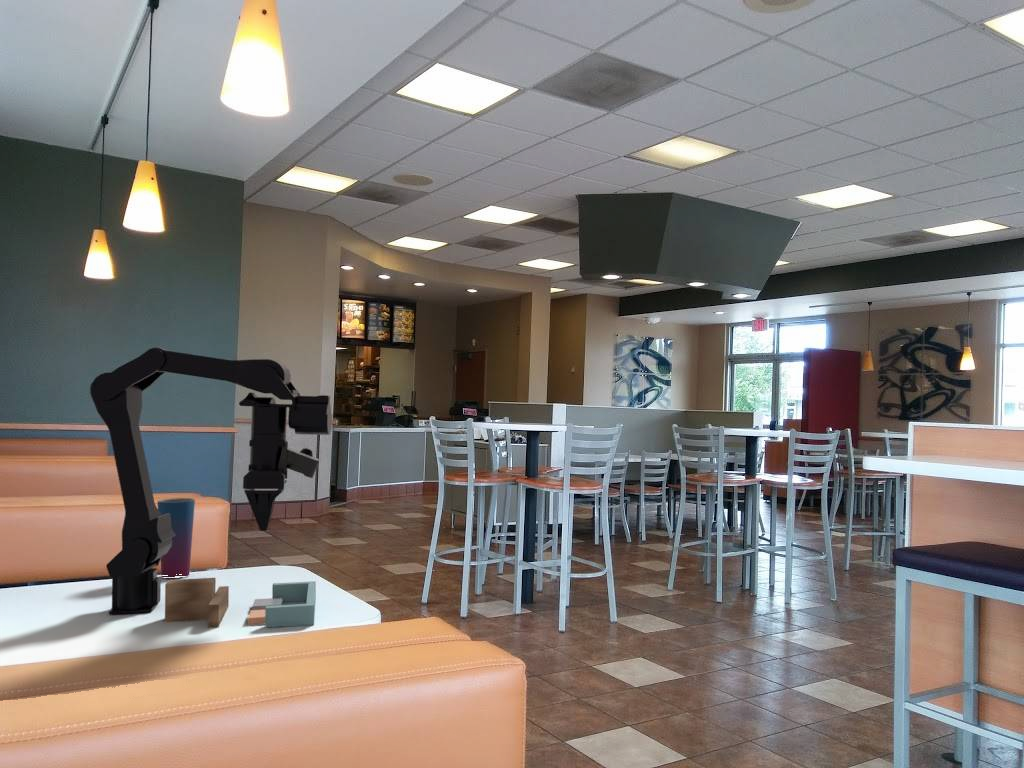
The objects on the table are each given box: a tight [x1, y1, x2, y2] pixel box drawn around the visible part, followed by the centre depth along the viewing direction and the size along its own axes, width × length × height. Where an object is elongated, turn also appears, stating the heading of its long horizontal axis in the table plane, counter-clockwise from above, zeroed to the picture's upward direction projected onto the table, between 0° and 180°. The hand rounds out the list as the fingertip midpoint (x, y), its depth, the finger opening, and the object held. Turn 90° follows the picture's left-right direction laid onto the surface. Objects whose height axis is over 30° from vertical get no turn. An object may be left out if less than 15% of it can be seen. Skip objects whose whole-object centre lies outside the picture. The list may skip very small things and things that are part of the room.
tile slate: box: [251, 597, 284, 610], centre depth 128 cm, size 4×4×2 cm
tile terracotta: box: [247, 609, 265, 626], centre depth 122 cm, size 4×4×2 cm
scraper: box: [164, 577, 230, 629], centre depth 123 cm, size 8×12×6 cm
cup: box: [157, 497, 196, 578], centre depth 152 cm, size 7×7×15 cm
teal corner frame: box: [264, 580, 317, 629], centre depth 126 cm, size 7×16×3 cm, turn 13°
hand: (265, 526), depth 130 cm, fingers open, 9 cm apart
